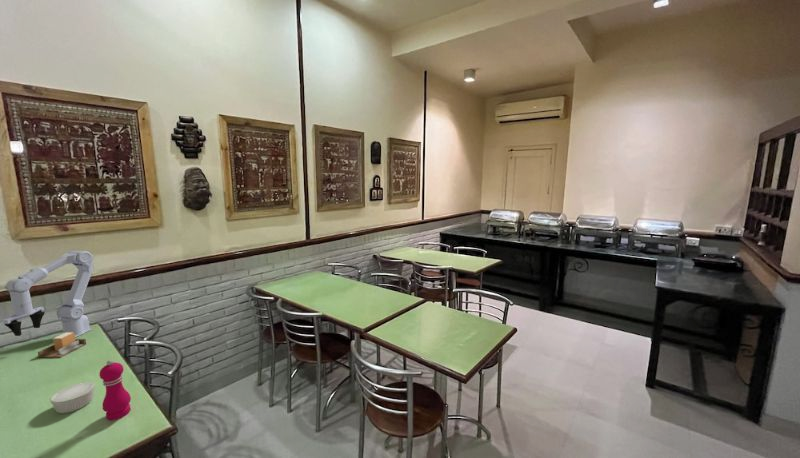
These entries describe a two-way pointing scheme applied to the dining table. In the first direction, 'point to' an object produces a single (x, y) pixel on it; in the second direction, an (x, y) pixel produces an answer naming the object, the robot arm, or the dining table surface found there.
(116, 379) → the pepper mill
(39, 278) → the robot arm
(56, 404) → the ramekin
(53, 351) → the shelf
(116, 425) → the dining table surface
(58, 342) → the tan block
